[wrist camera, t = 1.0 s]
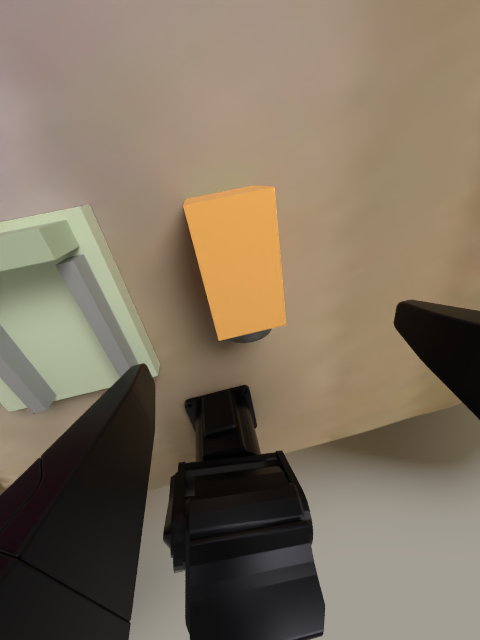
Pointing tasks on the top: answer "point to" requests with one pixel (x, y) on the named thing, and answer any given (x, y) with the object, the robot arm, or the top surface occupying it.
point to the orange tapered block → (239, 260)
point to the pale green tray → (63, 312)
